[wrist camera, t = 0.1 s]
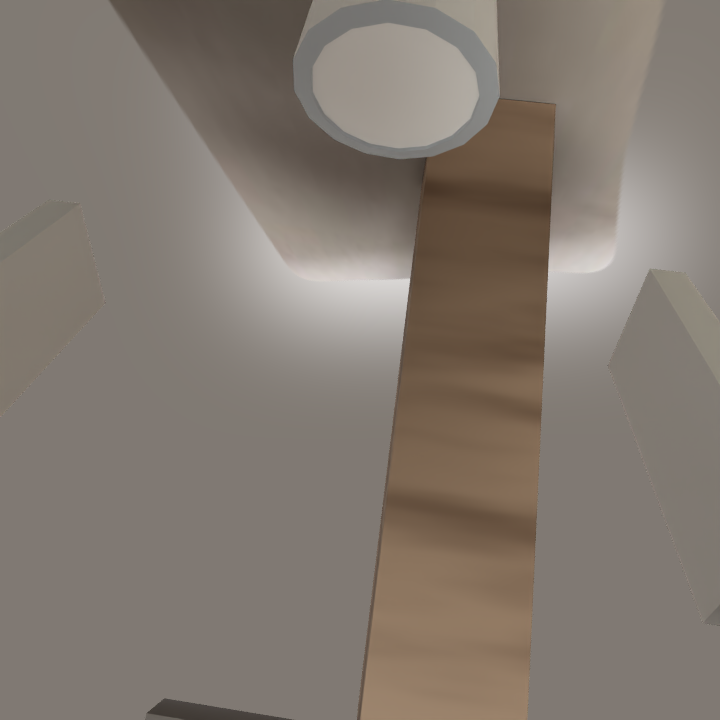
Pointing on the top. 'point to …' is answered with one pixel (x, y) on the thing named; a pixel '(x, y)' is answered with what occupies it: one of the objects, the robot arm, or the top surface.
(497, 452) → the brown wooden tall block
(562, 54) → the top surface
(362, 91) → the white cup
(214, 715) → the beige wooden block
